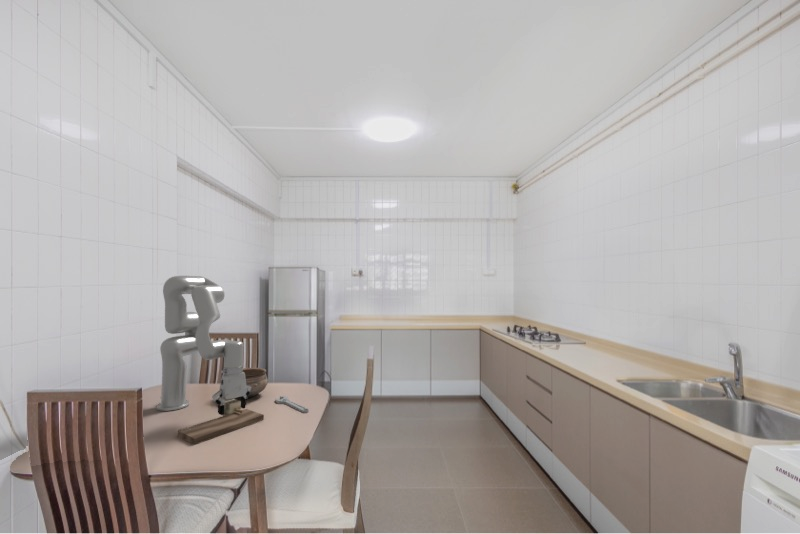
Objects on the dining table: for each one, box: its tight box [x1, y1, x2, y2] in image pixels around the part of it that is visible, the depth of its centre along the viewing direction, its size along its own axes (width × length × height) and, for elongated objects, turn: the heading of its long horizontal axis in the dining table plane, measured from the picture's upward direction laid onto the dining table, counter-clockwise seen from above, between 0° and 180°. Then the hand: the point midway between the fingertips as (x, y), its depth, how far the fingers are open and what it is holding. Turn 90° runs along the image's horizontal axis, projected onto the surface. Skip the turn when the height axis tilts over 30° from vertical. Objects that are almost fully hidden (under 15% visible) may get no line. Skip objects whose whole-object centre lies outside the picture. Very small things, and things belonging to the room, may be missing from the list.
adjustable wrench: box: [274, 395, 309, 414], centre depth 166 cm, size 25×6×2 cm, turn 42°
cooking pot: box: [239, 367, 269, 399], centre depth 179 cm, size 25×19×12 cm
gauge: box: [222, 398, 244, 417], centre depth 152 cm, size 10×5×6 cm, turn 56°
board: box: [177, 408, 265, 445], centre depth 141 cm, size 12×28×2 cm, turn 146°
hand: (232, 410), depth 153 cm, fingers open, 9 cm apart
